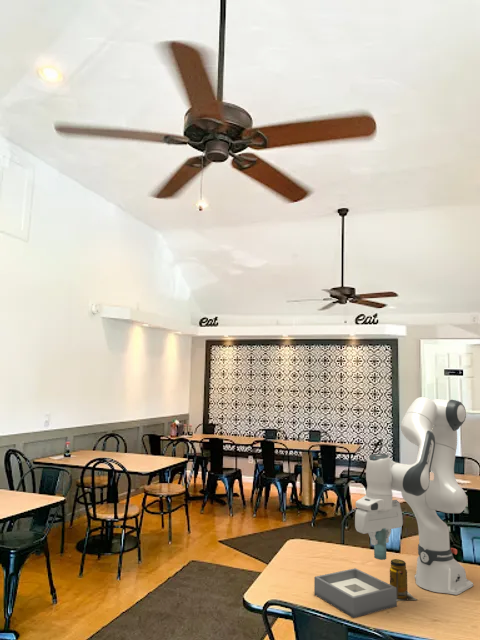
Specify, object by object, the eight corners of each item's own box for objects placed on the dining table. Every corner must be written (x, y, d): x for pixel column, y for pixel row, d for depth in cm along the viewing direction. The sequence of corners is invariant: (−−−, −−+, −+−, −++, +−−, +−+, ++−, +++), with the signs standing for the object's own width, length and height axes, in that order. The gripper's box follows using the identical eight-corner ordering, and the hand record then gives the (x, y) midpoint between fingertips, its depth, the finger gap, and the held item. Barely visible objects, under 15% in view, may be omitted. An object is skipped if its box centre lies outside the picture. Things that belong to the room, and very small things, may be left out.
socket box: (355, 585, 179) (355, 568, 180) (396, 606, 162) (396, 587, 163) (314, 594, 169) (314, 576, 170) (353, 618, 152) (353, 598, 153)
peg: (379, 555, 164) (379, 525, 166) (388, 558, 161) (388, 528, 162) (371, 556, 162) (371, 526, 164) (380, 560, 159) (380, 529, 160)
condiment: (386, 592, 173) (385, 557, 175) (408, 592, 174) (407, 557, 176) (394, 601, 166) (393, 565, 168) (417, 600, 167) (416, 564, 168)
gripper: (392, 497, 172) (393, 537, 170) (351, 502, 162) (352, 544, 160) (406, 500, 167) (407, 542, 165) (365, 506, 157) (365, 550, 155)
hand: (379, 543), depth 162 cm, fingers closed on peg, 4 cm apart
